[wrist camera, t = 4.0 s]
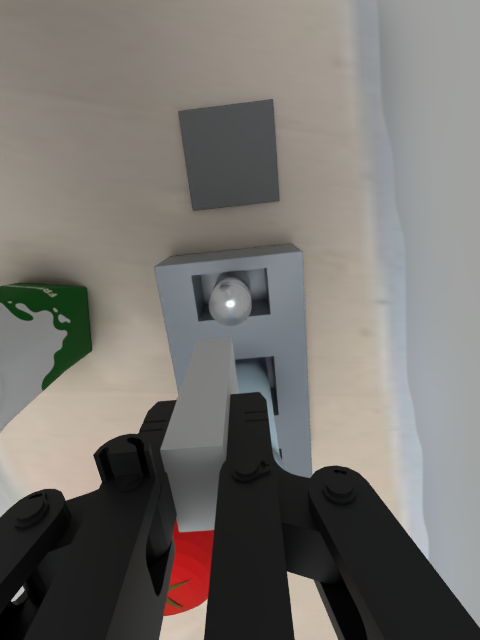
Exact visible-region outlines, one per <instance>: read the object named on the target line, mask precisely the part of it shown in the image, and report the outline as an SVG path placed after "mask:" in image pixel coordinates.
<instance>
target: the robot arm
mask: <svg viewBox="0 0 480 640" xmlns="http://www.w3.org/2000/svg"><path fill="white" fill-rule="evenodd" d="M93 456H94V459H95V462H96V465H97V468H98V471H99V474H100V477H101V480H102V484H101V486H100V488H99V489H98V490H95V491H93V492H91V493H88V494H85V495H82V496H79V497H76V498H73V499H70V500H67V501H65V498H64V496H63V494H62V492H61V491H58V490H56V489H43V490H40V491H37V492H34V493H32V494H30V495H28V496H26V497H24V498H23V499H21V500H19V501H18V502H17V503H16V504H14V505H13V506H12V507H11V508H10V509H9V510H7V511H6V513H4V515H2V517H0V640H159V636H160V631H161V625H162V620H163V615H164V610H165V604H166V599H167V594H168V589H169V584H170V578H171V573H172V568H173V563H174V557H175V543H174V539H173V531H174V526H175V521H176V520H177V524H178V528H179V532H192V531H206V530H214V537H213V548H212V559H211V570H210V581H209V591H208V602H207V613H206V624H205V635H204V640H295V639H294V630H293V621H292V613H291V604H290V595H289V587H288V578H287V571H288V572H291V573H294V574H297V575H301V576H304V577H307V578H310V579H314V582H315V584H316V587H317V589H318V591H319V594H320V596H321V599H322V601H323V604H324V606H325V608H326V611H327V613H328V616H329V618H330V620H331V623H332V625H333V628H334V630H335V633H336V635H337V637H338V640H480V628H479V627H478V625H477V624H476V623H475V621H474V620H473V619H472V617H471V616H470V615H469V614H468V612H467V611H466V609H465V608H464V607H463V606H462V605H461V603H460V602H459V600H458V599H457V598H456V597H455V595H454V594H453V593H452V591H451V590H450V589H449V587H448V586H447V585H446V583H445V582H444V581H443V579H442V578H441V577H440V576H439V574H438V573H437V572H436V570H435V569H434V568H433V566H432V565H431V564H430V562H429V561H428V560H427V558H426V557H425V556H424V555H423V553H422V552H421V551H420V549H419V548H418V547H417V545H416V544H415V543H414V541H413V540H412V539H411V538H410V536H409V535H408V534H407V532H406V531H405V530H404V528H403V527H402V526H401V524H400V523H399V522H398V521H397V519H396V518H395V517H394V515H393V514H392V513H391V511H390V510H389V509H388V507H387V506H386V505H385V504H384V502H383V501H382V500H381V498H380V497H379V496H378V494H377V493H376V492H375V490H374V489H373V488H372V487H371V485H370V484H369V483H368V481H367V480H366V479H365V478H363V477H362V476H361V475H360V474H359V473H358V472H356V471H354V470H351V469H349V468H347V467H341V466H327V467H323V468H321V469H319V470H317V471H316V472H315V473H314V474H313V475H312V476H311V477H310V478H307V477H302V476H298V475H294V474H291V473H289V472H287V471H285V470H284V469H282V468H281V467H280V466H279V465H278V464H277V462H276V461H275V459H274V456H273V451H272V443H271V434H270V426H269V417H268V409H267V400H266V399H265V398H264V396H263V395H262V394H261V393H260V392H251V393H240V394H239V391H238V383H237V375H236V367H235V359H234V351H233V343H232V337H226V338H216V339H205V340H197V342H196V345H195V348H194V351H193V354H192V357H191V359H190V362H189V365H188V368H187V371H186V374H185V377H184V380H183V383H182V386H181V389H180V392H179V395H178V398H177V400H171V401H160V402H157V403H156V404H155V405H154V406H153V407H152V408H151V409H150V410H149V411H148V413H147V415H146V417H145V419H144V421H143V424H142V426H141V428H140V430H139V433H138V434H127V435H122V436H118V437H116V438H114V439H112V440H109V441H108V442H106V443H105V444H104V445H102V446H101V447H100V448H99V449H98V450H97V451H96V452H95V454H94V455H93ZM22 586H23V587H24V589H25V591H24V592H23V594H22V595H21V596H20V597H19V598H18V599H17V600H16V601H13V602H11V600H12V598H13V597H14V596H15V594H16V593H17V592H18V591H19V589H20V588H21V587H22Z"/></svg>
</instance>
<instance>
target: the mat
mask: <svg viewBox="0 0 480 640" xmlns="http://www.w3.org/2000/svg"><path fill="white" fill-rule="evenodd" d="M178 112H179V119H180V126H181V133H182V140H183V147H184V153H185V160H186V167H187V174H188V181H189V188H190V194H191V201H192V208H193V211H194V210H203V209H212V208H221V207H230V206H238V205H247V204H256V203H265V202H274V201H279V186H278V170H277V155H276V139H275V123H274V108H273V99H270V100H263V101H255V102H247V103H239V104H231V105H224V106H216V107H208V108H200V109H193V110H185V111H178Z"/></svg>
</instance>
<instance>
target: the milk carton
mask: <svg viewBox="0 0 480 640" xmlns="http://www.w3.org/2000/svg"><path fill="white" fill-rule="evenodd" d="M91 351H92V346H91V334H90V323H89V311H88V299H87V288H85V287H71V286H57V285H43V284H29V283H15V284H10V285H5V286H1V287H0V432H1V431H2V430H3V429H4V427H5V426H6V425H7V424H8V423H9V422H10V421H11V420H12V419H13V418H14V417H15V416H16V415H17V414H19V413H20V412H21V411H22V410H23V409H24V408H25V407H26V406H27V405H28V404H29V403H31V402H32V401H33V400H34V399H35V398H36V397H37V396H38V395H39V394H40V393H41V392H43V391H44V390H45V389H46V388H47V387H48V386H49V385H50V384H51V383H52V382H54V381H55V380H56V379H57V378H58V377H59V376H60V375H61V374H62V373H63V372H65V371H66V370H67V369H68V368H70V367H71V366H72V365H74V364H75V363H76V362H78V361H79V360H80V359H82V358H83V357H84V356H86V355H87V354H88V353H90V352H91Z"/></svg>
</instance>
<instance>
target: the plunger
mask: <svg viewBox="0 0 480 640" xmlns="http://www.w3.org/2000/svg"><path fill="white" fill-rule="evenodd" d="M251 308H252V303H251V290H250V281H249V278H248V276H247V275H246V274H245V273H244V272H243V271H241V270H240V271H230V272H222V273H221V274H220V275H219V276H218V278H217V281H216V284H215V286H214V289H213V291H212V294H211V297H210V300H209V311H210V313H211V315H212V317H213V318H214V319H215V320H216V321H217V322H218V323H220V324H222V325H226V326H235V325H238V324H241V323H242V322H244V321H245V320H246V319H247V318H248V316H249V315H250V312H251Z"/></svg>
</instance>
